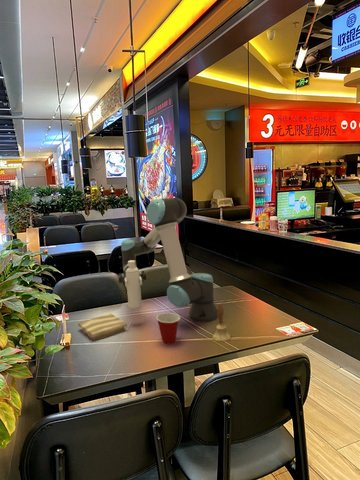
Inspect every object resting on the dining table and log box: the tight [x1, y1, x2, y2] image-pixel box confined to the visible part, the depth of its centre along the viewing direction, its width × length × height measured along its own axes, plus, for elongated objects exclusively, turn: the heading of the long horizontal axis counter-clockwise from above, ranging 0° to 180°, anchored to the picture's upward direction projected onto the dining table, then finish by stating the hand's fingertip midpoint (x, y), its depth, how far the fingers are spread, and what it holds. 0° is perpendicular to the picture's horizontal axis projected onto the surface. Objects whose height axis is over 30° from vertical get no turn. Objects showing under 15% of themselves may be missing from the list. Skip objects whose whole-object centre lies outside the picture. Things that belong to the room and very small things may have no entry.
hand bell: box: [212, 303, 232, 342], centre depth 163 cm, size 8×8×16 cm
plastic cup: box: [155, 312, 181, 345], centre depth 163 cm, size 11×11×12 cm
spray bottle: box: [126, 260, 143, 309], centre depth 180 cm, size 7×7×25 cm
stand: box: [77, 312, 128, 341], centre depth 179 cm, size 18×18×4 cm
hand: (133, 283), depth 175 cm, fingers closed on spray bottle, 7 cm apart
